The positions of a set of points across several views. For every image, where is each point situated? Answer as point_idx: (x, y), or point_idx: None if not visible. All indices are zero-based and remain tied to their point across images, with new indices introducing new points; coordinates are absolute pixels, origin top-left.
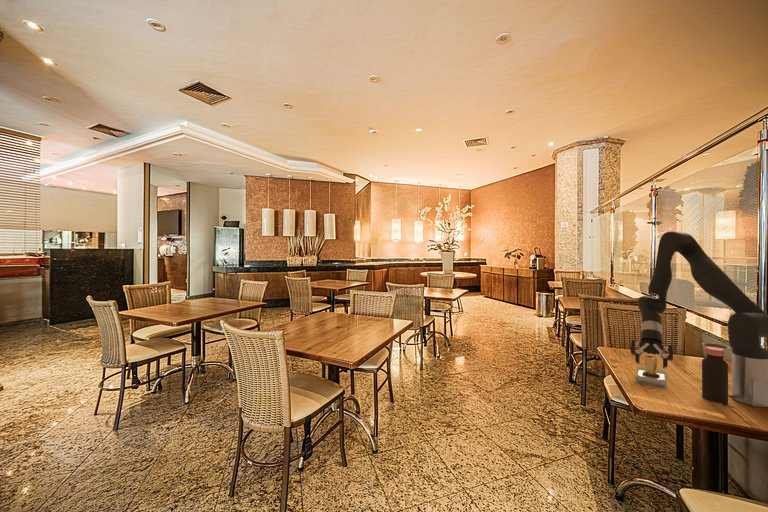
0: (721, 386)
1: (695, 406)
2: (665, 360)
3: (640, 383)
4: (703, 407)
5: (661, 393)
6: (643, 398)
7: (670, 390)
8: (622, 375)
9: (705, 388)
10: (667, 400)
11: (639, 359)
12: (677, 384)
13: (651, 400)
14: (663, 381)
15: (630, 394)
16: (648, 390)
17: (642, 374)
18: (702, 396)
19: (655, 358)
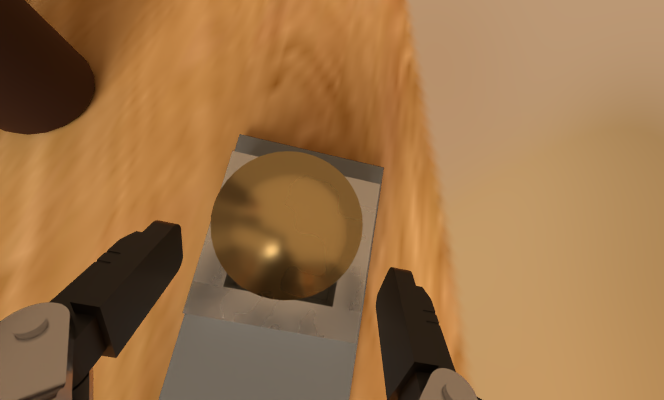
0: None
1: (175, 6)
2: (90, 290)
3: (359, 163)
4: (143, 6)
5: (277, 103)
6: (365, 18)
7: (217, 166)
8: None
9: (26, 8)
10: (274, 30)
11: (384, 349)
12: None
13: (339, 9)
14: (239, 154)
15: (409, 41)
16: (329, 119)
17: None
18: (83, 82)
19: (237, 193)
